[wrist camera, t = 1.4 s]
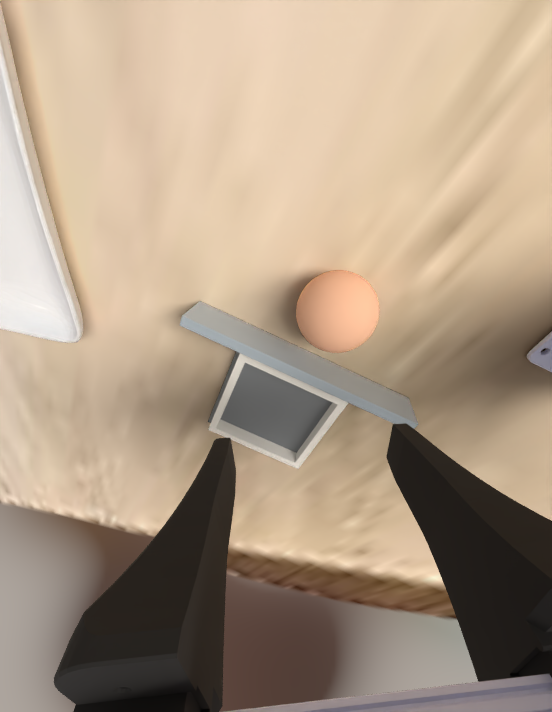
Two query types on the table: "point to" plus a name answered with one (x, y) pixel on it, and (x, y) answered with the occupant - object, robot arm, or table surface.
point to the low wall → (298, 363)
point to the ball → (337, 311)
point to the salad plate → (29, 227)
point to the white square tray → (272, 411)
